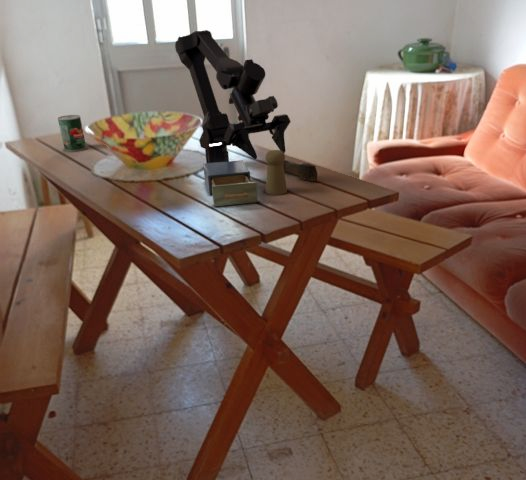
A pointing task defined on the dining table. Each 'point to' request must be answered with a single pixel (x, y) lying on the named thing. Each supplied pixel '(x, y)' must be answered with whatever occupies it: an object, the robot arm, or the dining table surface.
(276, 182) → the pawn game piece
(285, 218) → the dining table surface
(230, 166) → the cabinet
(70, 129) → the canned tomato
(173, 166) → the dining table surface
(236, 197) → the drawer
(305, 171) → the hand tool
